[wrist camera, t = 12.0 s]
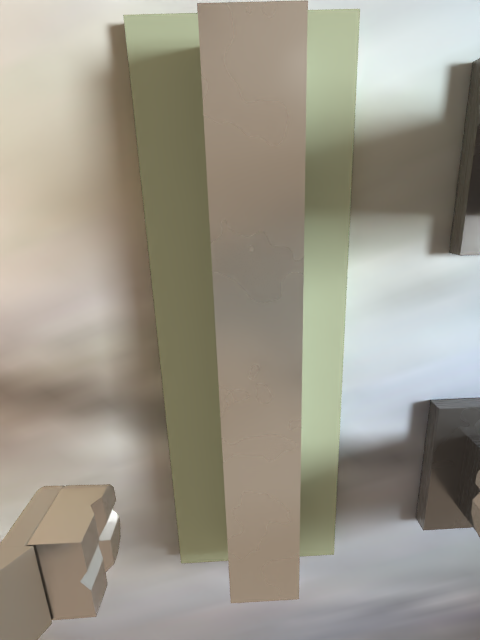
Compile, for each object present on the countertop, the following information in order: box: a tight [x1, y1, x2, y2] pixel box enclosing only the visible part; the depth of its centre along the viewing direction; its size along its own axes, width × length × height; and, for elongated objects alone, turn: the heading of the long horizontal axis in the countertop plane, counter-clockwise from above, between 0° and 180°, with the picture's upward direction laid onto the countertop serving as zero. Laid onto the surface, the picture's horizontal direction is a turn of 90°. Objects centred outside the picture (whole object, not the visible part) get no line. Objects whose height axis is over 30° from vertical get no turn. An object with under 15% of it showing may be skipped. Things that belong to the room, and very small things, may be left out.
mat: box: [123, 9, 360, 563], centre depth 17 cm, size 8×24×1 cm, turn 2°
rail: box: [197, 1, 308, 603], centre depth 15 cm, size 3×22×3 cm, turn 2°
